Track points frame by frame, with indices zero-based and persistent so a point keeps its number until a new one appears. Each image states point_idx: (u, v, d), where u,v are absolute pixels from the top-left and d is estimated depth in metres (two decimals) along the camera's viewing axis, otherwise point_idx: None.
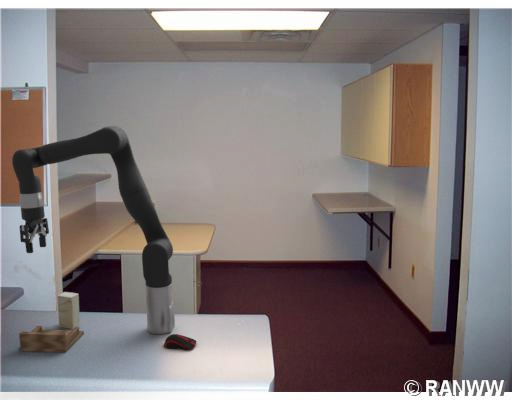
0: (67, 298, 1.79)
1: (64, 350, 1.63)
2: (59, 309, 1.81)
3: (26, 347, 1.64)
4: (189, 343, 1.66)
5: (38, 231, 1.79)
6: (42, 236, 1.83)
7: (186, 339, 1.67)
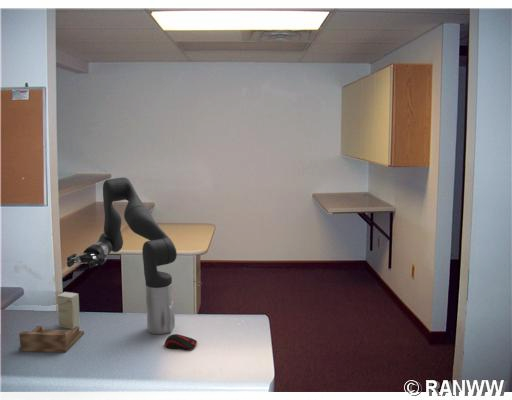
0: (67, 298, 1.79)
1: (64, 350, 1.63)
2: (59, 309, 1.81)
3: (26, 347, 1.64)
4: (190, 343, 1.66)
5: (87, 257, 1.97)
6: None
7: (187, 339, 1.67)
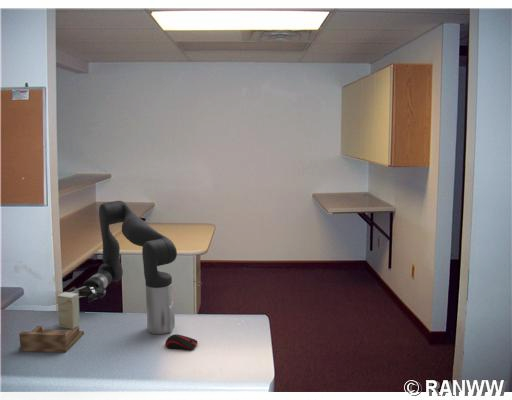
0: (67, 298, 1.79)
1: (64, 350, 1.63)
2: (59, 309, 1.81)
3: (26, 347, 1.64)
4: (190, 343, 1.66)
5: (86, 290, 1.96)
6: None
7: (187, 339, 1.67)
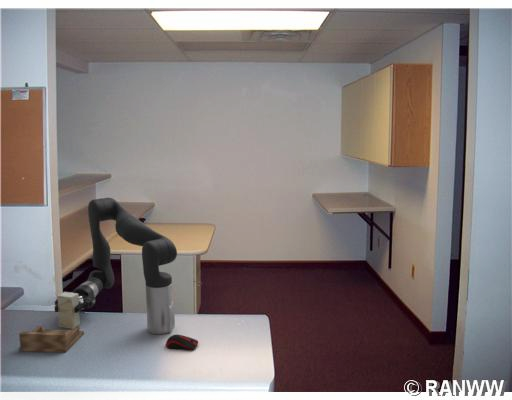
0: (67, 298, 1.79)
1: (64, 350, 1.63)
2: (59, 309, 1.81)
3: (26, 347, 1.64)
4: (191, 343, 1.66)
5: None
6: None
7: (188, 339, 1.67)
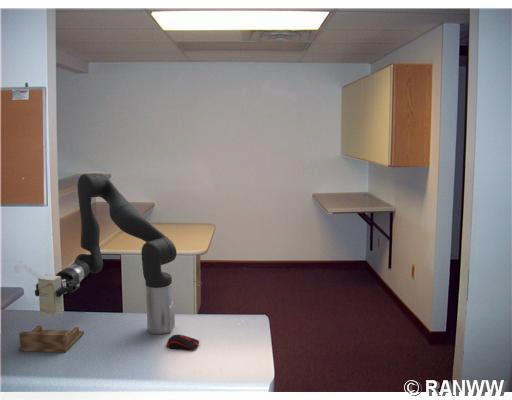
0: (48, 281, 1.65)
1: (64, 350, 1.63)
2: (40, 293, 1.67)
3: (26, 347, 1.64)
4: (192, 343, 1.66)
5: None
6: None
7: (189, 339, 1.67)
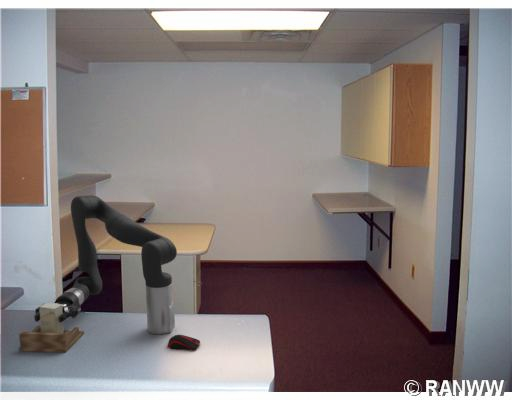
0: (50, 309, 1.66)
1: (64, 350, 1.63)
2: (41, 321, 1.68)
3: (26, 347, 1.64)
4: (193, 343, 1.66)
5: None
6: None
7: (190, 339, 1.67)
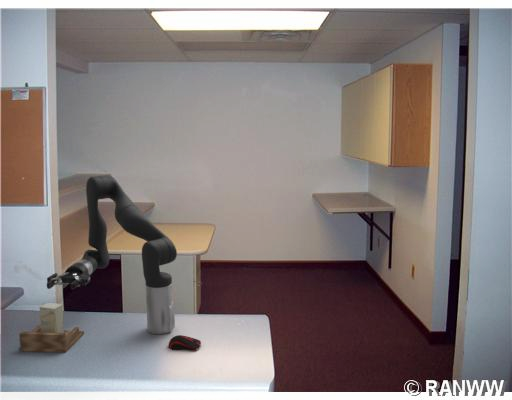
0: (50, 309, 1.66)
1: (64, 350, 1.63)
2: (41, 321, 1.68)
3: (26, 347, 1.64)
4: (194, 343, 1.66)
5: (69, 277, 1.82)
6: None
7: (191, 340, 1.67)
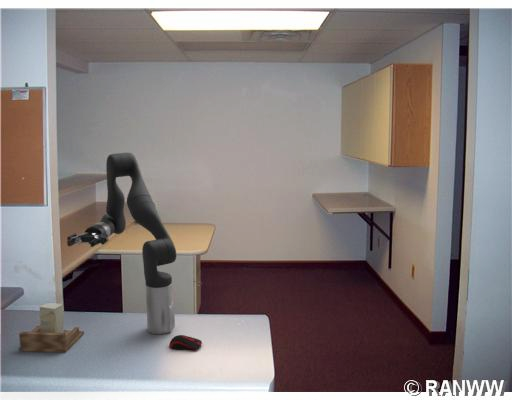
0: (50, 309, 1.66)
1: (64, 350, 1.63)
2: (41, 321, 1.68)
3: (26, 347, 1.64)
4: (195, 343, 1.66)
5: (88, 236, 1.88)
6: None
7: (192, 339, 1.67)
